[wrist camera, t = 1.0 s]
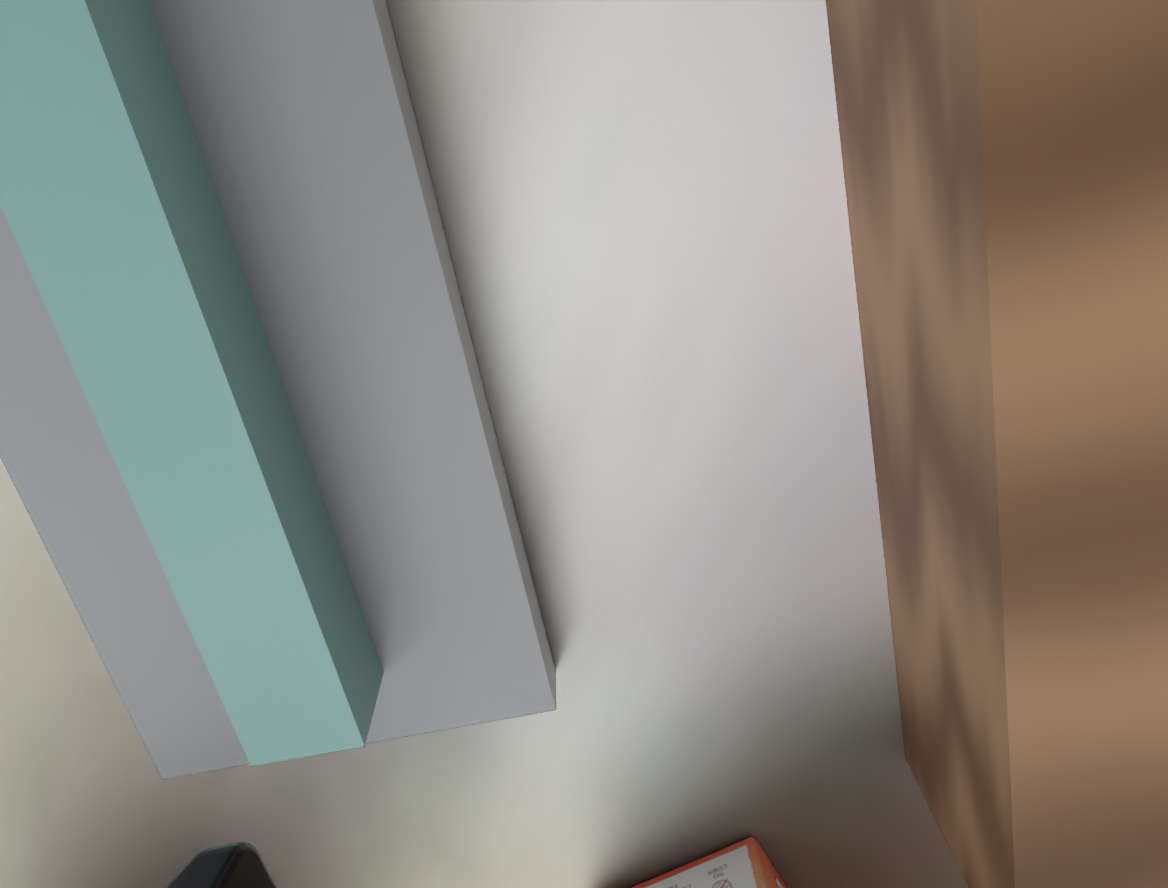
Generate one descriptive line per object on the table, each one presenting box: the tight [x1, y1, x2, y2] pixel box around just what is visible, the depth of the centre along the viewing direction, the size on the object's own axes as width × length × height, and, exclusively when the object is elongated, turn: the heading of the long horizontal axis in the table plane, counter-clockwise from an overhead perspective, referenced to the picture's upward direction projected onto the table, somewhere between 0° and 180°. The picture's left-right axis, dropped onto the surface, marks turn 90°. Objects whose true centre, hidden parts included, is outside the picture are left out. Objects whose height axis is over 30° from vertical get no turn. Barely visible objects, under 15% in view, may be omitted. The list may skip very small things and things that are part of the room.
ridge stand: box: [0, 0, 556, 779], centre depth 18 cm, size 20×10×4 cm, turn 11°
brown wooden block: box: [826, 0, 1168, 888], centre depth 18 cm, size 22×3×7 cm, turn 13°
